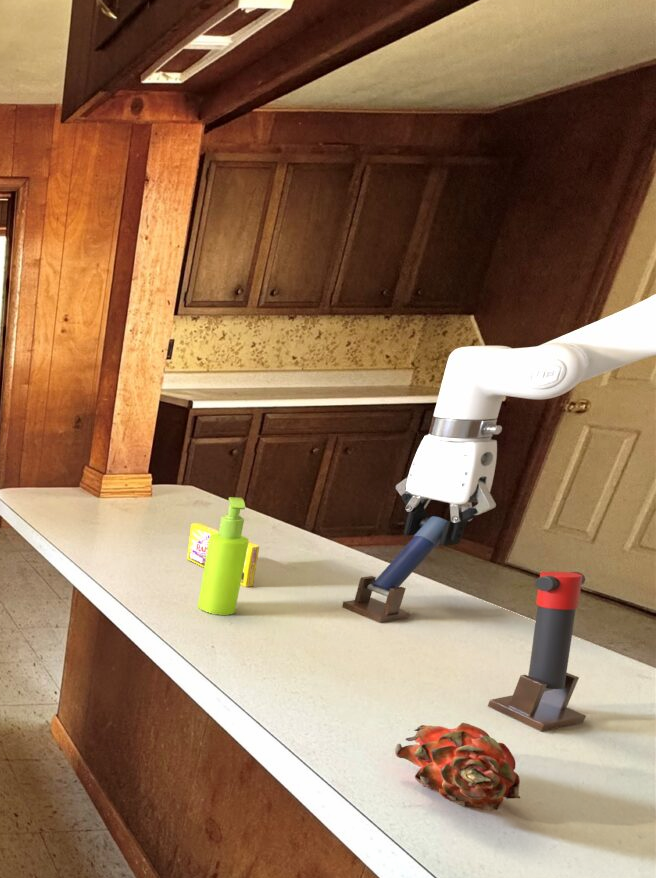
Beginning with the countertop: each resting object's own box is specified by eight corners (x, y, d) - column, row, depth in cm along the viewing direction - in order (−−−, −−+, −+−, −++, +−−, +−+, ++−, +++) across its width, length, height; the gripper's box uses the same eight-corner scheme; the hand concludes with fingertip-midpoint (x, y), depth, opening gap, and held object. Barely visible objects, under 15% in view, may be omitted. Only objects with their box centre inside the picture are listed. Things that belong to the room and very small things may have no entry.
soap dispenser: (199, 615, 114) (218, 503, 107) (196, 600, 120) (215, 493, 113) (237, 619, 112) (260, 505, 105) (232, 604, 118) (254, 495, 111)
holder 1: (369, 602, 117) (377, 573, 115) (408, 618, 111) (417, 587, 109) (341, 606, 116) (349, 577, 114) (379, 622, 109) (388, 592, 107)
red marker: (527, 574, 81) (563, 579, 77) (559, 569, 82) (595, 574, 78) (512, 689, 84) (546, 698, 80) (543, 682, 85) (578, 692, 81)
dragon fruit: (477, 846, 66) (404, 784, 77) (570, 808, 63) (480, 750, 75) (433, 779, 65) (366, 727, 77) (525, 738, 63) (442, 690, 74)
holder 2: (487, 706, 86) (500, 669, 84) (527, 697, 87) (542, 661, 85) (541, 731, 80) (557, 692, 78) (583, 722, 82) (600, 683, 80)
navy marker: (430, 523, 112) (421, 512, 111) (463, 532, 108) (454, 520, 106) (368, 592, 115) (359, 582, 113) (398, 603, 110) (388, 593, 109)
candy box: (184, 560, 140) (190, 523, 137) (193, 559, 140) (199, 522, 137) (244, 587, 125) (252, 546, 122) (253, 586, 126) (262, 545, 122)
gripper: (543, 434, 96) (505, 551, 103) (425, 421, 112) (399, 523, 119) (502, 438, 95) (466, 557, 102) (389, 424, 111) (364, 528, 117)
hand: (430, 538), depth 110 cm, fingers closed on navy marker, 5 cm apart
